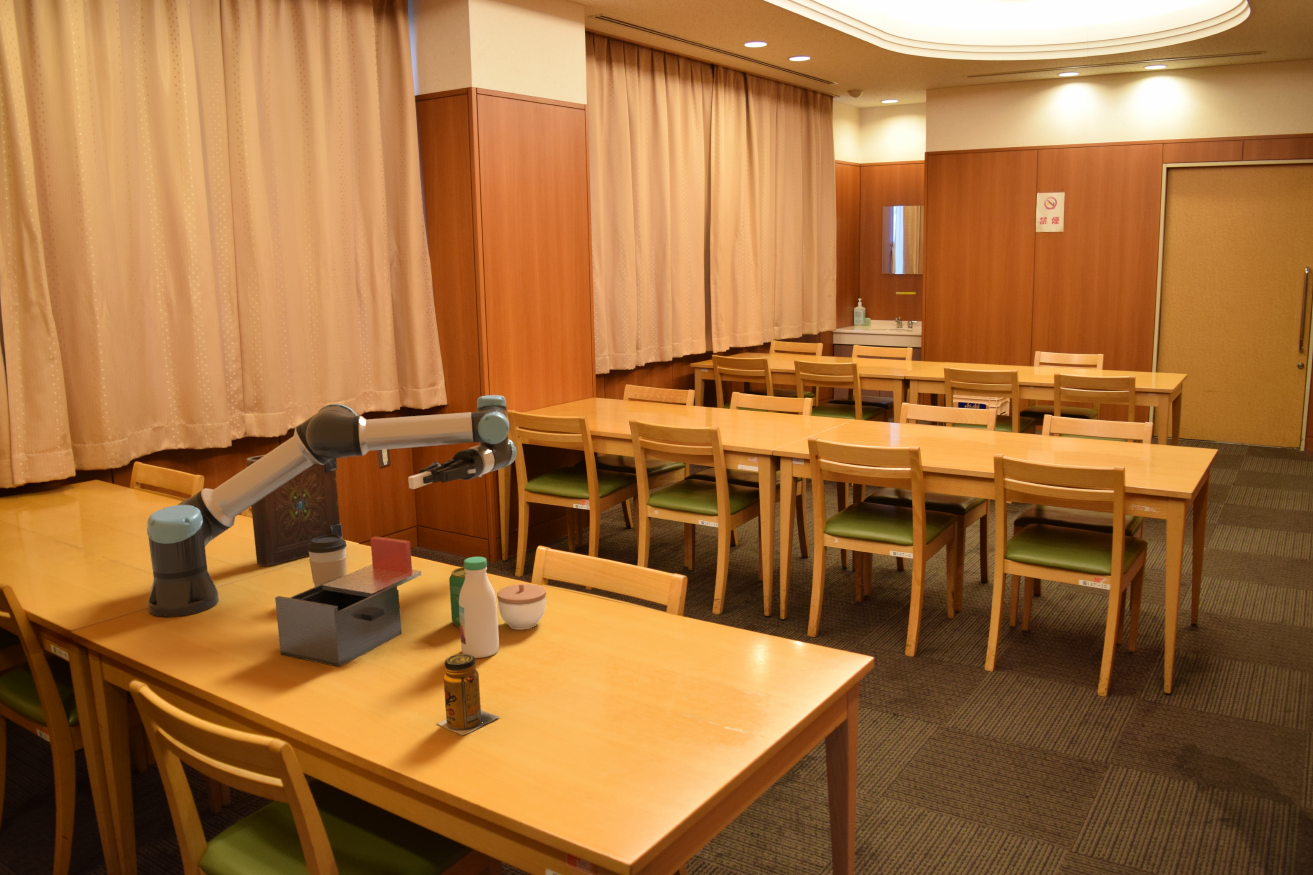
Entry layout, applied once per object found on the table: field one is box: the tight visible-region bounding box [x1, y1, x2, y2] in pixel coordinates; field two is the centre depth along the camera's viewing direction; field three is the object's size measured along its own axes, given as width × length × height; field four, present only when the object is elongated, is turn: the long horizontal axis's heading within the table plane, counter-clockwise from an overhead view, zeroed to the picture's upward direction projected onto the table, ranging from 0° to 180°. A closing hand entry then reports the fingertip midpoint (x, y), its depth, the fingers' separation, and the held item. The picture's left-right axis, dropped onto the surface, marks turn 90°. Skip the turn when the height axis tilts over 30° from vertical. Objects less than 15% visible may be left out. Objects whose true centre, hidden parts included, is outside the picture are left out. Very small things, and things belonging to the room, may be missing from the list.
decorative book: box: [246, 454, 344, 567], centre depth 268 cm, size 23×7×30 cm, turn 139°
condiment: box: [436, 653, 501, 736], centre depth 170 cm, size 7×8×12 cm
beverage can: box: [448, 566, 466, 629], centre depth 217 cm, size 8×8×12 cm
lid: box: [322, 535, 422, 597], centre depth 214 cm, size 16×14×8 cm
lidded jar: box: [496, 583, 547, 631], centre depth 215 cm, size 11×11×9 cm
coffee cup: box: [307, 534, 348, 587], centre depth 236 cm, size 9×9×15 cm
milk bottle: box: [459, 556, 500, 659], centre depth 200 cm, size 8×8×20 cm
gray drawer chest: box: [274, 576, 402, 668], centre depth 206 cm, size 19×21×12 cm
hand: (411, 483), depth 224 cm, fingers closed
